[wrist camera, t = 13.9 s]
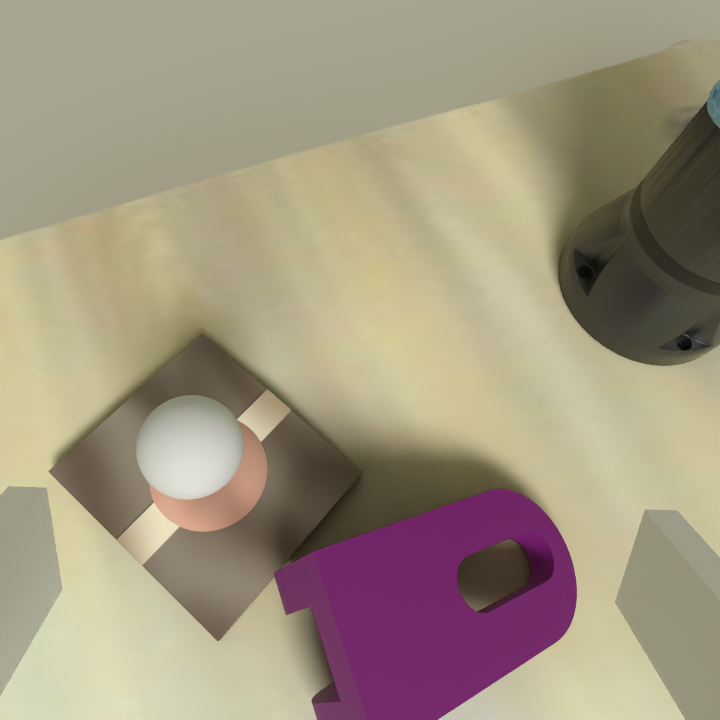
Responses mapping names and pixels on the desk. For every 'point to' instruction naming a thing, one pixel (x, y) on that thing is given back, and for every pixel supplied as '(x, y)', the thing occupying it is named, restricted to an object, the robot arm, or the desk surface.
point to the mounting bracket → (429, 608)
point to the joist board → (221, 509)
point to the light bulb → (189, 447)
